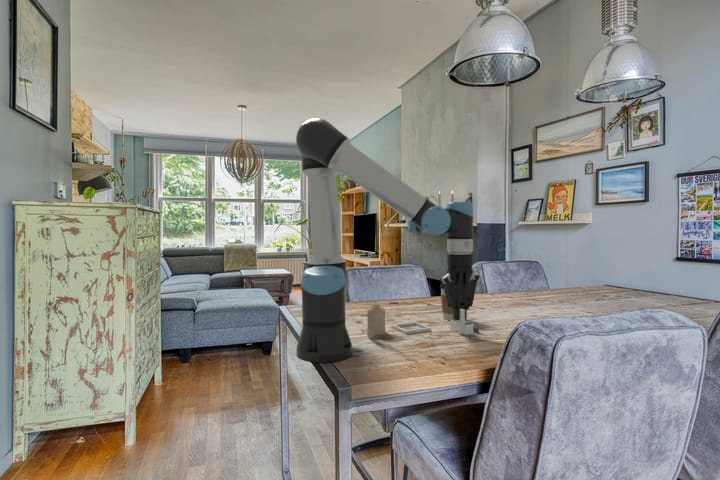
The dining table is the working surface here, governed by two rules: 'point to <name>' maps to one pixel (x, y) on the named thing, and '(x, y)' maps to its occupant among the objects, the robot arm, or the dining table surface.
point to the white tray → (423, 329)
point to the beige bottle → (375, 321)
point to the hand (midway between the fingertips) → (460, 330)
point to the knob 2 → (468, 328)
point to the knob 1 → (452, 324)
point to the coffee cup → (447, 311)
